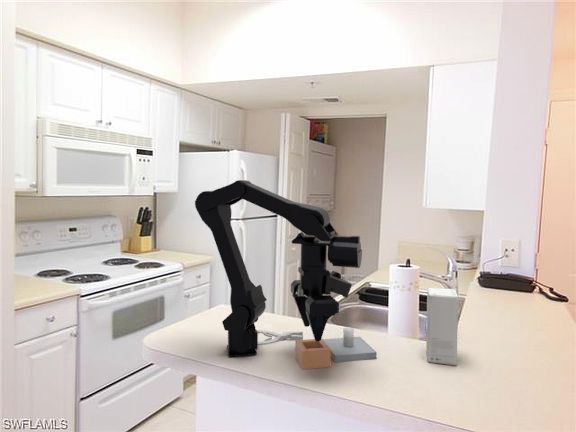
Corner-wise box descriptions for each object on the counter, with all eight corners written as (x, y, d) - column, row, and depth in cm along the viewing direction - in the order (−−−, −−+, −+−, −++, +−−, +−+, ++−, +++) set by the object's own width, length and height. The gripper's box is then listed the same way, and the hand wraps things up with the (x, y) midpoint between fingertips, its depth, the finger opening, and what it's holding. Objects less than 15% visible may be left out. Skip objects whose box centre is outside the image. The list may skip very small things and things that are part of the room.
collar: (301, 369, 91) (302, 351, 90) (295, 357, 97) (295, 340, 96) (330, 366, 92) (330, 349, 92) (321, 355, 98) (322, 338, 98)
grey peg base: (334, 362, 94) (335, 338, 94) (322, 345, 104) (322, 323, 104) (376, 358, 96) (377, 335, 96) (359, 342, 106) (360, 321, 106)
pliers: (246, 326, 113) (302, 327, 113) (246, 332, 114) (302, 332, 114) (242, 340, 104) (303, 341, 104) (242, 346, 104) (303, 347, 104)
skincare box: (456, 366, 93) (459, 297, 91) (425, 362, 95) (428, 294, 93) (453, 352, 101) (456, 288, 99) (424, 348, 103) (427, 286, 101)
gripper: (364, 272, 85) (361, 346, 86) (334, 256, 103) (333, 318, 105) (311, 274, 83) (309, 350, 84) (290, 257, 101) (289, 320, 102)
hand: (312, 333), depth 94 cm, fingers open, 9 cm apart
